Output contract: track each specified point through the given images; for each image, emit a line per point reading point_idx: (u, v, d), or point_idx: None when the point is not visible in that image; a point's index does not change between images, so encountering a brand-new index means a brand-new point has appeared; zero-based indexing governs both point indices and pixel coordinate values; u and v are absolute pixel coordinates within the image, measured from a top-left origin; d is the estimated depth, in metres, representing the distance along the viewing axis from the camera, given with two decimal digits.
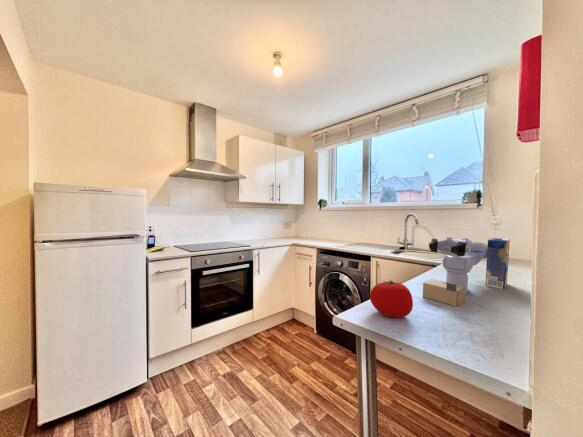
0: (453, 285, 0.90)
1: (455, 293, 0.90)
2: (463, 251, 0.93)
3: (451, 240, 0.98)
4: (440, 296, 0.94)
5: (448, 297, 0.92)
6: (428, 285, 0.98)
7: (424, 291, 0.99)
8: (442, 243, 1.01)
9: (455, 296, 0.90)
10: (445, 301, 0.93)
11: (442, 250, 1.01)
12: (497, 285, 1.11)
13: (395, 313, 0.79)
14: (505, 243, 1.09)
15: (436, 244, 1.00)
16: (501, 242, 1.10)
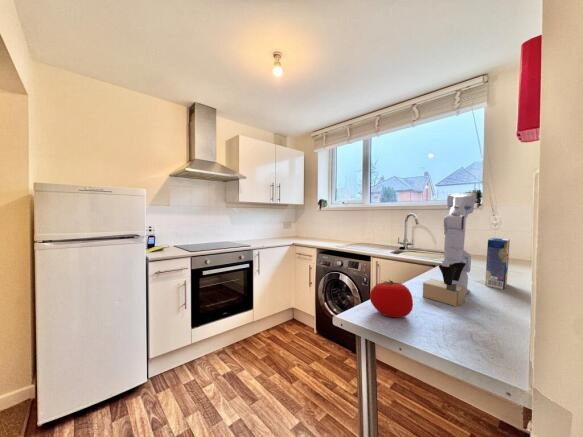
0: (453, 285, 0.90)
1: (455, 293, 0.90)
2: None
3: (462, 261, 0.89)
4: (440, 296, 0.94)
5: (448, 297, 0.92)
6: (428, 285, 0.98)
7: (424, 291, 0.99)
8: (454, 262, 0.88)
9: (455, 296, 0.90)
10: (445, 301, 0.93)
11: None
12: (497, 285, 1.11)
13: (395, 313, 0.79)
14: (505, 243, 1.09)
15: None
16: (501, 242, 1.10)
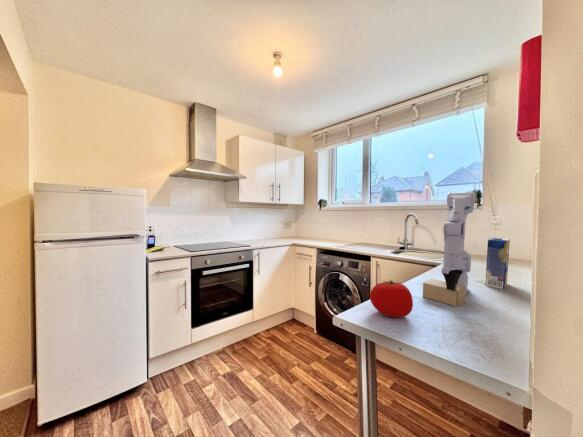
0: None
1: (455, 293, 0.90)
2: None
3: None
4: (440, 296, 0.94)
5: (448, 297, 0.92)
6: (428, 285, 0.98)
7: (424, 291, 0.99)
8: None
9: (455, 296, 0.90)
10: (445, 301, 0.93)
11: None
12: (497, 285, 1.11)
13: (395, 313, 0.79)
14: (505, 243, 1.09)
15: None
16: (501, 242, 1.10)
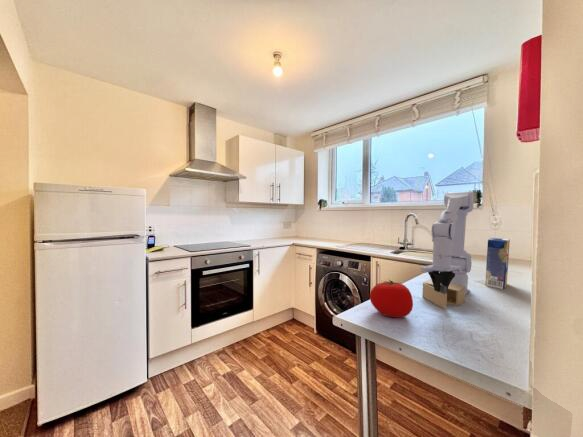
0: (442, 287, 0.88)
1: (445, 295, 0.88)
2: None
3: (448, 270, 0.86)
4: (434, 297, 0.93)
5: (440, 299, 0.90)
6: (426, 285, 0.97)
7: (423, 291, 0.99)
8: (437, 270, 0.87)
9: (445, 298, 0.88)
10: (437, 303, 0.91)
11: None
12: (497, 285, 1.11)
13: (395, 313, 0.79)
14: (505, 243, 1.09)
15: None
16: (501, 242, 1.10)
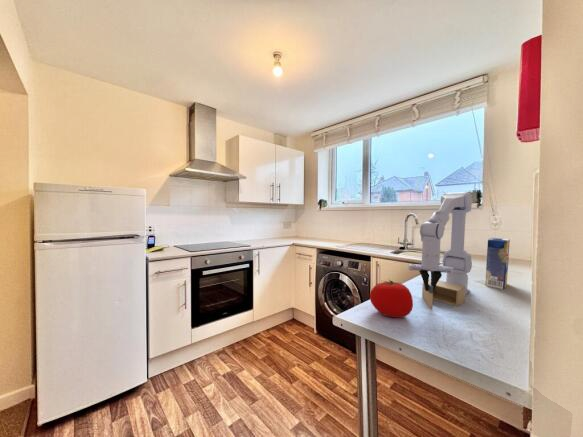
0: (429, 286, 0.89)
1: (431, 295, 0.88)
2: None
3: None
4: (427, 297, 0.93)
5: (429, 299, 0.91)
6: None
7: (422, 291, 0.99)
8: (423, 269, 0.89)
9: (431, 298, 0.88)
10: (428, 303, 0.92)
11: None
12: (497, 285, 1.11)
13: (395, 313, 0.79)
14: (505, 243, 1.09)
15: None
16: (501, 242, 1.10)
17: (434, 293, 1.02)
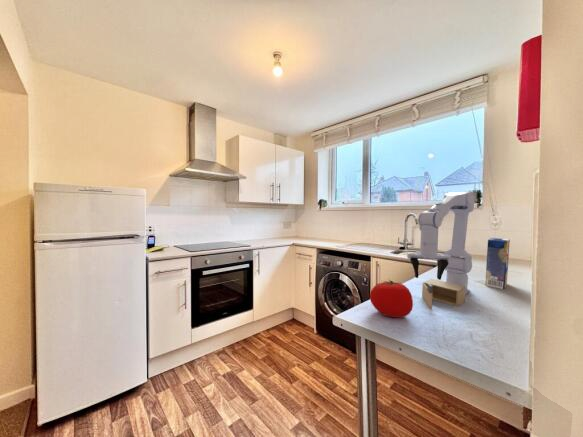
0: (429, 286, 0.89)
1: (430, 295, 0.88)
2: None
3: (432, 258, 0.88)
4: (426, 297, 0.93)
5: (428, 299, 0.91)
6: (423, 285, 0.97)
7: (422, 291, 0.99)
8: (422, 257, 0.91)
9: (430, 298, 0.88)
10: (427, 303, 0.92)
11: None
12: (497, 285, 1.11)
13: (395, 313, 0.79)
14: (505, 243, 1.09)
15: None
16: (501, 242, 1.10)
17: (434, 293, 1.02)
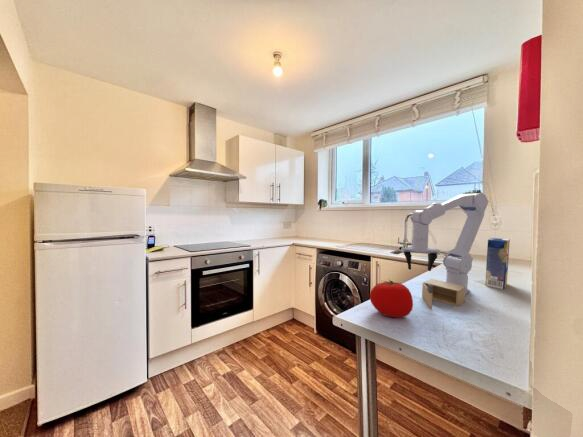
0: (429, 286, 0.89)
1: (430, 295, 0.88)
2: None
3: (423, 251, 1.00)
4: (426, 297, 0.93)
5: (428, 299, 0.91)
6: (423, 285, 0.97)
7: (422, 291, 0.99)
8: (414, 251, 1.02)
9: (430, 298, 0.88)
10: (427, 303, 0.92)
11: None
12: (497, 285, 1.11)
13: (395, 313, 0.79)
14: (505, 243, 1.09)
15: (410, 256, 1.03)
16: (501, 242, 1.10)
17: (434, 293, 1.02)
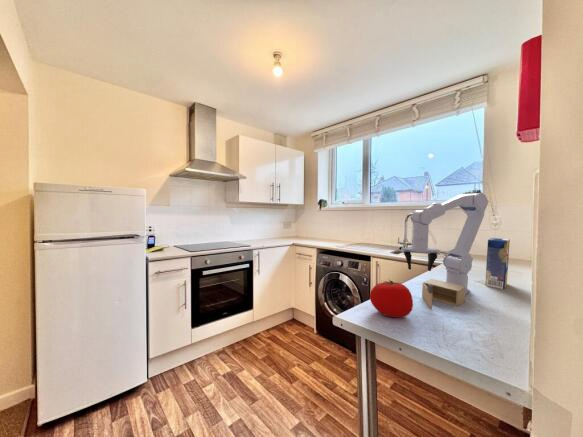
0: (429, 286, 0.89)
1: (430, 295, 0.88)
2: None
3: (423, 251, 1.00)
4: (426, 297, 0.93)
5: (428, 299, 0.91)
6: (423, 285, 0.97)
7: (422, 291, 0.99)
8: (414, 251, 1.02)
9: (430, 298, 0.88)
10: (427, 303, 0.92)
11: None
12: (497, 285, 1.11)
13: (395, 313, 0.79)
14: (505, 243, 1.09)
15: (410, 256, 1.03)
16: (501, 242, 1.10)
17: (434, 293, 1.02)
